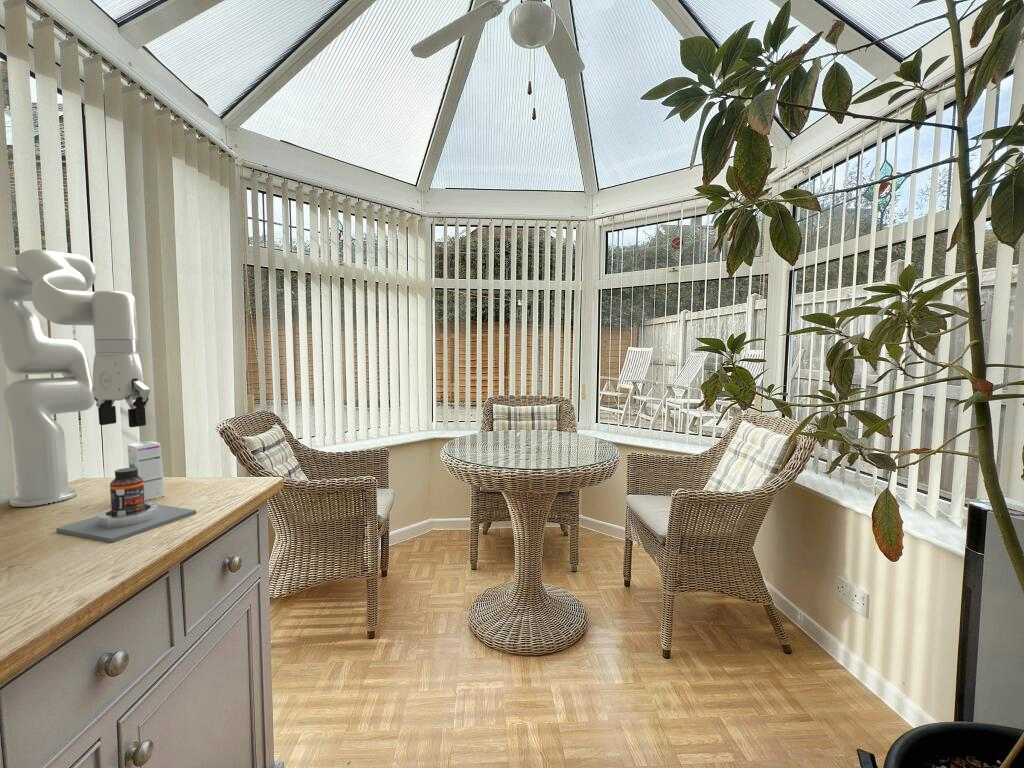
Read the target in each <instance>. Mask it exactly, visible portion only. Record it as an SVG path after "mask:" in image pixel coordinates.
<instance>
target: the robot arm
mask: <svg viewBox="0 0 1024 768" xmlns="http://www.w3.org/2000/svg"><path fill="white" fill-rule="evenodd" d="M14 263H15V264H14V265H15V266H13V265H12V266H11V265H0V349H1V354H2V357H3V361H4V363H5V366H6V368H7V370H8V371H9V372H10V373H12V374H15V375H16V374H17V375H26V376H27V375H52V374H53V375H54V374H56V375H57V374H61V375H62V376H63V377H40V378H25V379H20V380H15V381H13V382H11V383H9V384H8V385H6V386H5V388H4V390H3V401H4V402H3V403H4V404H5V408H6V411H7V413H8V416H9V421H10V427H11V432H12V441H13V453H14V464H15V465H14V466H15V476H16V486H15V489H16V490H17V496H15V497H13V498H11V499H9V505H10V506H11V507H15V508H18V507H19V508H25V507H35V506H36V507H37V505H38V506H43V504H44V505H48V503H50V504H54V503H53V502H55V503H59V502H62V500H63V501H66V500H69V499H72V498H74V497H75V495H76V496H77V494H78V490H77V489H75V488H71V487H69V477H68V475H69V474H68V464H67V463H68V462H67V453H66V452H67V450H66V440H65V439H66V438H65V431H64V429H63V427H62V426H61V425H60V424H59V423H58V422H57V421H56V420H54V419H53V418H52V417H51V416H52V415H58V414H66V413H67V414H68V413H76V412H77V413H78V412H83V411H88V410H90V409H91V408H93V406H94V405H96V407H97V413H98V423H99V425H100V426H106V425H112V424H116V423H117V410H116V405H114V404H115V401H123V400H125V402H126V404H127V405H128V407H129V408H127V415H128V416H127V418H128V427H129V428H137V427H144V426H146V425H147V418H146V408H147V405H148V404H147V403H148V401H149V396H150V392H151V389H150V388H149V387H148V386H147V385H145V384H144V383H145V381H144V375H143V369H142V363H141V358H140V356H139V355H140V349H139V348H140V347H139V333H138V331H139V330H138V317H137V305H136V303H137V302H136V297H135V296H134V294H132V293H129V292H127V291H126V292H125V291H119V290H100V291H99V290H98V291H95V292H94V291H88V290H89V289H90V288H92V287H93V285H94V284H95V281H96V279H97V270H96V268H95V265H94V264H93V262H92V261H91V260H90V259H89V258H87V257H85V256H84V255H81V254H78V253H71V252H64V251H63V252H62V251H54V250H47V249H38V248H37V249H28V250H25V251H22V252H20V253H19V254H18V255H16V258H15V261H14ZM22 302H32V305H33V307H34V309H35V310H36V311H37V312H38V313H39V314H40V315H41V316H42V317H43V318H45V319H46V320H48V321H49V322H51V323H54V324H56V325H57V324H58V325H60V326H61V325H63V326H93V339H94V340H93V341H94V356H93V357H94V358H93V365H92V366H93V367H92V370H91V367H90V363H89V358H88V356H87V352H86V349H85V348H84V346H83V344H82V343H80V342H79V341H78V340H75V339H73V338H67V337H66V338H64V337H60V338H59V337H58V338H57V337H48V336H47V335H46V333H45V330H44V325H43V324H44V323H43V321H42V319H41V318H40V316H38V315H37V314H36V312H35V311H33V310H32V309H31V308H29V307H28V306H26V305H25V304H23V303H22ZM91 371H92V372H91ZM95 403H96V404H95ZM58 501H59V502H58Z"/></svg>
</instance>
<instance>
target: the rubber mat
mask: <svg viewBox="0 0 1024 768" xmlns="http://www.w3.org/2000/svg"><path fill="white" fill-rule="evenodd" d="M157 506H158V516H156V517H155V518H153V519H151V520H148V521H145V522H142V523H139V524H134V525H128V526H123V527H109V528H108V527H102V526H99V515H95V516H94V517H93V516H92V517H90V518H86V519H82V520H79V521H75V522H73V523H69V524H65V525H62V526H59V527H56V529H55V530H56V531H57V533H60V532H61V533H62V534H66V535H71V536H78V537H80V538H81V537H83V538H87V539H93V540H98V541H101V542H107V543H116V542H117V541H120V540H123V539H126V538H129V537H132V536H136V535H138V534H141V533H144V532H147V531H150V530H153V529H155V527H156V528H158V526H159V527H161V526H164V525H167V524H169V523H173V522H176V521H178V520H181V518H182V519H184V518H187V517H190V516H193V515H196V514H197V510H196V509H190V508H185V507H178V506H176V507H175V506H170V505H164V504H163V505H162V504H157ZM149 529H150V530H149Z"/></svg>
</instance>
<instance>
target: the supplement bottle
mask: <svg viewBox="0 0 1024 768" xmlns="http://www.w3.org/2000/svg"><path fill="white" fill-rule="evenodd" d="M137 474H138V470H137V468H129V467H124V468H119V469H116V470H115V471H114V477H115V478H114V479H113V480H112V481H111V482H110V484H109V489H110V490H109V492H110V509H111V511H112V517H113V516H125V515H131V514H136V513H139V512H143V511H145V503H146V501H144V485H143V479H142V478H141V477H139V476H138V475H137Z"/></svg>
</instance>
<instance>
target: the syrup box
mask: <svg viewBox="0 0 1024 768" xmlns="http://www.w3.org/2000/svg"><path fill="white" fill-rule="evenodd" d="M162 458H163V457H162V447H161V443H160V442H155V441H153V440H150V441H149V440H148V441H147V440H146V441H140V442H134V443H130V444H127V459H128V468H137V470H138V474H137V475H138V476H139V477H141V478H142V479H143V485H144V500H146V501H149V500H148V499H151V500H153V499H152V498H155V499H157V498H156V497H159V498H161V497H160V496H163V497H165V496H164V495H165V483H164V482H165V481H164V470H163V460H162Z"/></svg>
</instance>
